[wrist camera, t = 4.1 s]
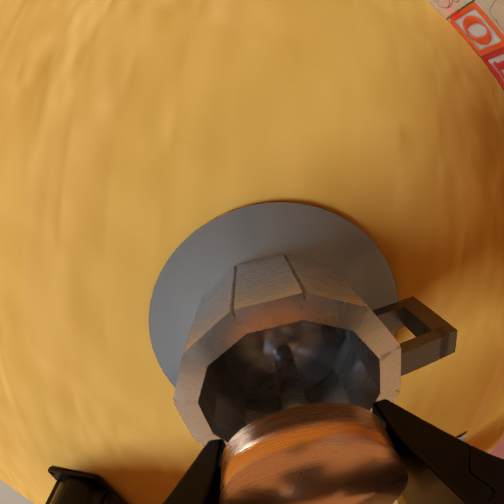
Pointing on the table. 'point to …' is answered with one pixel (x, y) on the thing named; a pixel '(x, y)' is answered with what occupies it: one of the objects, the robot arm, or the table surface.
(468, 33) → the stack of blocks
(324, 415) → the plunger
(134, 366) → the table surface
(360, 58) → the table surface
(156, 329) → the coaster
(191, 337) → the carafe
